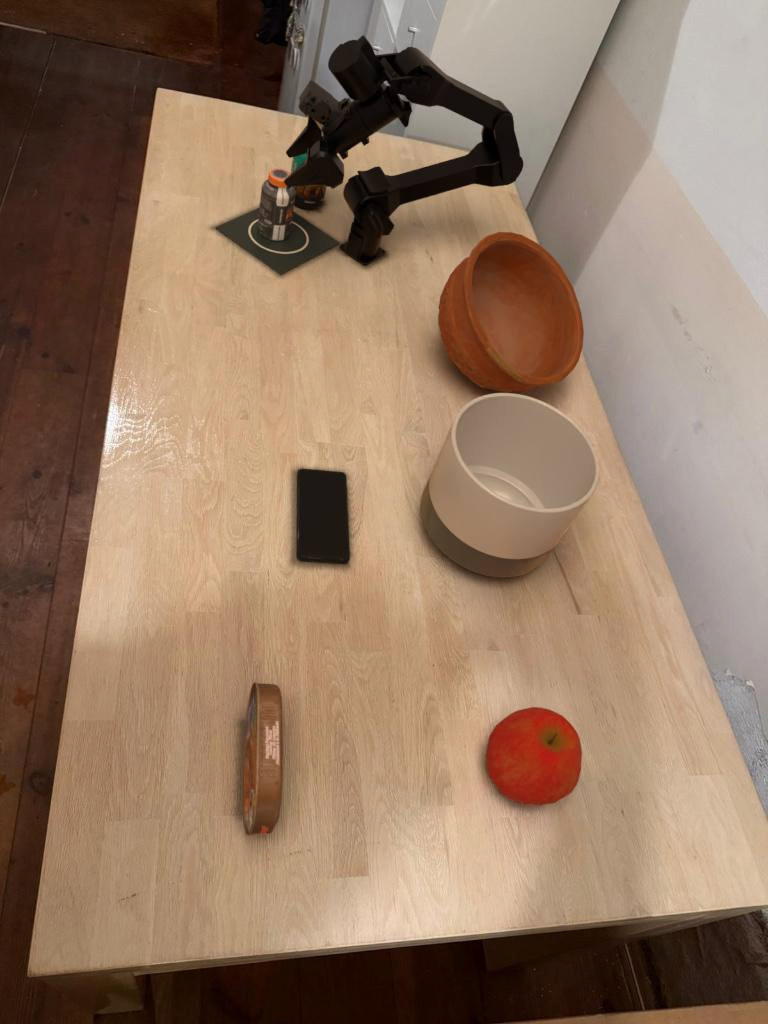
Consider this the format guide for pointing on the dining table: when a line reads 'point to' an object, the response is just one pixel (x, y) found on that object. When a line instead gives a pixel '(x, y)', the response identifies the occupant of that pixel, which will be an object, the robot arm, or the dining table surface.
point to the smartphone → (322, 516)
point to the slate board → (283, 253)
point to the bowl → (511, 316)
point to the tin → (263, 759)
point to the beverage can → (307, 189)
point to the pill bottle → (276, 206)
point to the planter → (508, 484)
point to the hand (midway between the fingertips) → (286, 169)
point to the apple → (534, 756)
